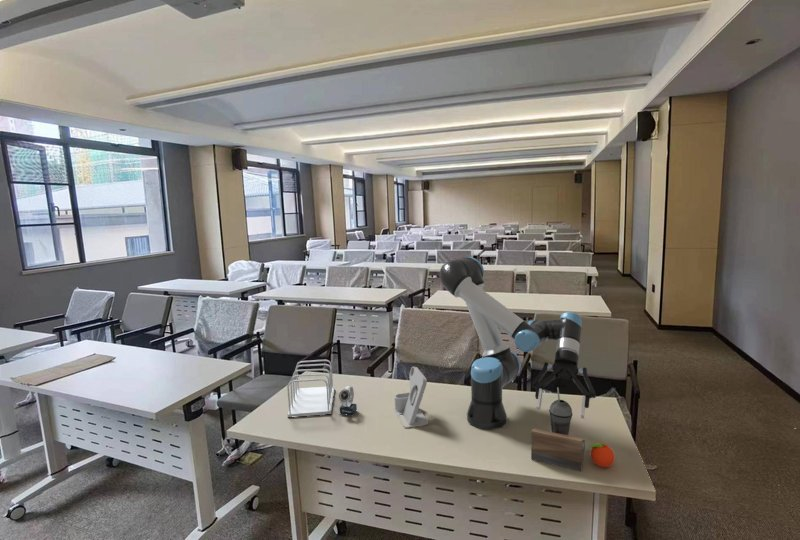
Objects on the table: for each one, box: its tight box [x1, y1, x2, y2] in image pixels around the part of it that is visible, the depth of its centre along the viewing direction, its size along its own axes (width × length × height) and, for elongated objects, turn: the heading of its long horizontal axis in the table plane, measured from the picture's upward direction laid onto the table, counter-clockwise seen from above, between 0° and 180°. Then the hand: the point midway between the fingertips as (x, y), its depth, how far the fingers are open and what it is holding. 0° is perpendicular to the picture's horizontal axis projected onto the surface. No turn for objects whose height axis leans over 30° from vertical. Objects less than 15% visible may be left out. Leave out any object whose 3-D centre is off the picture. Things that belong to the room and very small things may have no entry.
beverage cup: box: [548, 386, 573, 436], centre depth 141 cm, size 7×7×20 cm
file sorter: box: [287, 359, 336, 418], centre depth 185 cm, size 25×17×16 cm
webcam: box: [338, 385, 358, 416], centre depth 175 cm, size 6×8×11 cm
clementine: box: [587, 442, 616, 468], centre depth 135 cm, size 8×7×7 cm
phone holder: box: [393, 366, 429, 429], centre depth 170 cm, size 17×10×18 cm, turn 14°
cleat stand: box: [530, 428, 586, 472], centre depth 142 cm, size 14×15×10 cm
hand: (559, 412), depth 140 cm, fingers open, 13 cm apart
